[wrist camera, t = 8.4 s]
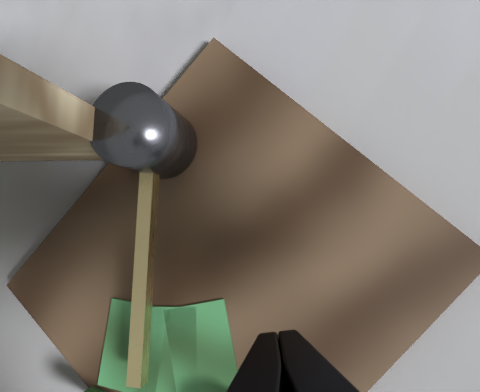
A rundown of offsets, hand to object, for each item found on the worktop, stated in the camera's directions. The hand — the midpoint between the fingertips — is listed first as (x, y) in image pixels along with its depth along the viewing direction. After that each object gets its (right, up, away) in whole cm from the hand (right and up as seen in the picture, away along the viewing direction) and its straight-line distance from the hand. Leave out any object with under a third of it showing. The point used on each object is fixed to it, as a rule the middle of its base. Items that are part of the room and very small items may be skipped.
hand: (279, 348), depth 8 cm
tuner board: (-2, -1, +11) cm, 11 cm away
